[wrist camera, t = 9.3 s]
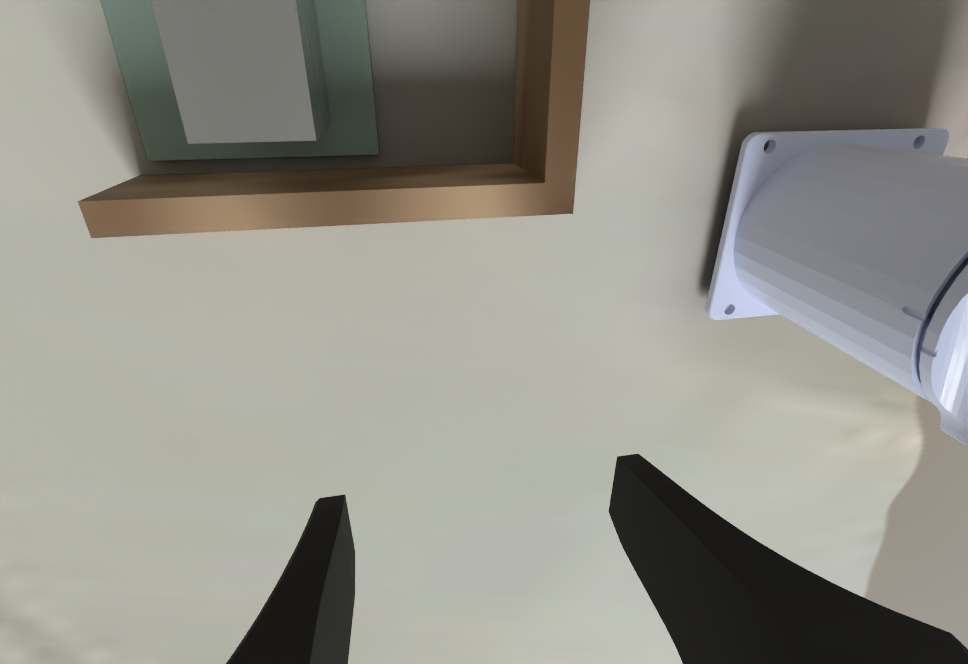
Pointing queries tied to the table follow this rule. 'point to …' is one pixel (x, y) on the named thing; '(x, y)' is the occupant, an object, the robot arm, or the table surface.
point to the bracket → (245, 69)
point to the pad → (167, 141)
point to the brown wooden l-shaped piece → (393, 190)
